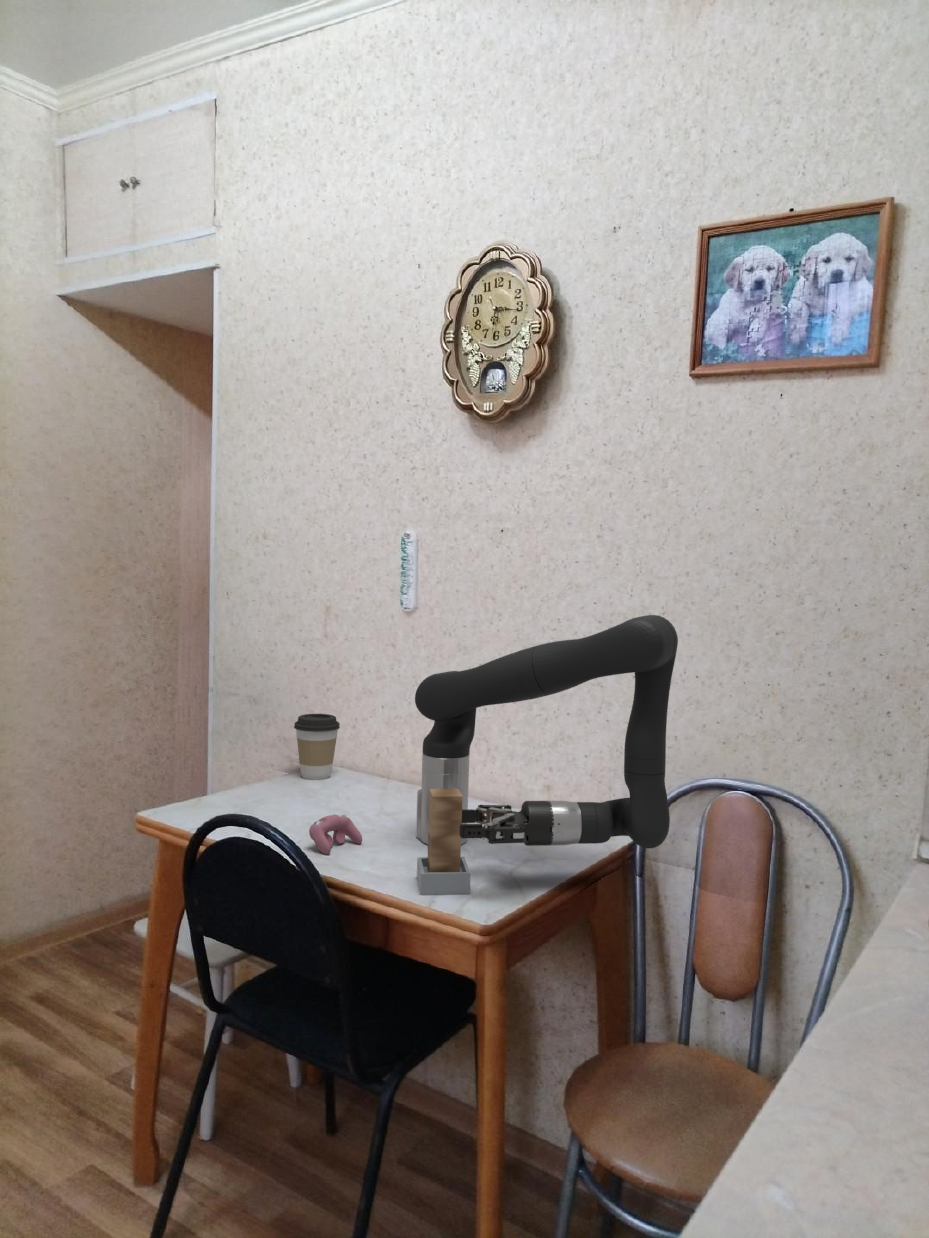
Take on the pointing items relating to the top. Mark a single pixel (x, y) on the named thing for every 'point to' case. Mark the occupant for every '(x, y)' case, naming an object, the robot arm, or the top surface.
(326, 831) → the video game controller
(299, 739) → the coffee cup
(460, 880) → the grey open box
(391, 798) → the top surface
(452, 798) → the walnut pillar
